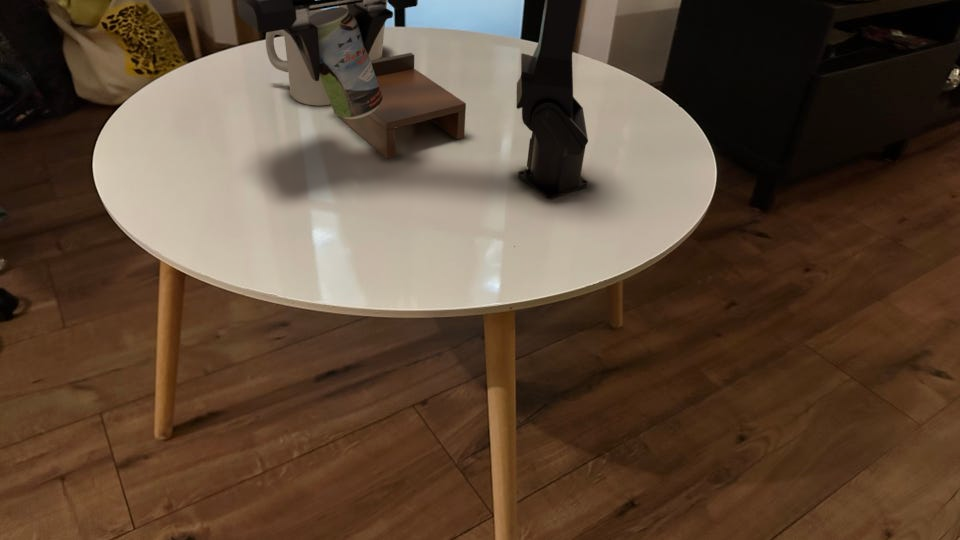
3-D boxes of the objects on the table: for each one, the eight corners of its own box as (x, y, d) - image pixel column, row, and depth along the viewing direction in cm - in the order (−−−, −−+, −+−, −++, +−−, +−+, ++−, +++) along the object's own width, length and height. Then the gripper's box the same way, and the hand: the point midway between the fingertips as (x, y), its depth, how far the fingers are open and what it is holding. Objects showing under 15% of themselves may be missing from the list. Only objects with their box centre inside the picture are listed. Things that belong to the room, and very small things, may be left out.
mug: (358, 86, 105) (354, 13, 98) (336, 110, 99) (330, 33, 92) (285, 74, 107) (276, 1, 100) (258, 96, 100) (247, 20, 94)
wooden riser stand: (464, 137, 94) (466, 88, 90) (387, 159, 89) (386, 108, 84) (410, 98, 103) (410, 52, 99) (337, 115, 97) (333, 67, 93)
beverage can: (376, 126, 80) (356, 26, 72) (317, 124, 82) (290, 26, 74) (390, 98, 85) (373, 1, 77) (334, 97, 86) (311, 2, 78)
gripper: (367, -97, 79) (373, 38, 89) (204, -83, 70) (230, 66, 80) (420, -76, 73) (420, 68, 82) (247, -57, 63) (270, 103, 73)
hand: (337, 75), depth 79 cm, fingers closed on beverage can, 5 cm apart
